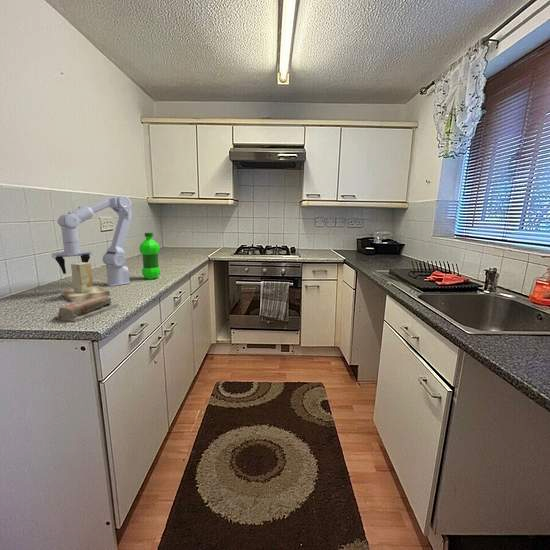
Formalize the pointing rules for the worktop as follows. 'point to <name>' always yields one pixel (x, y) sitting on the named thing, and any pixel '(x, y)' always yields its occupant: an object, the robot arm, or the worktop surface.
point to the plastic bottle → (150, 257)
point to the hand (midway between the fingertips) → (74, 272)
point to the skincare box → (82, 277)
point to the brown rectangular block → (85, 308)
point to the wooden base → (85, 294)
